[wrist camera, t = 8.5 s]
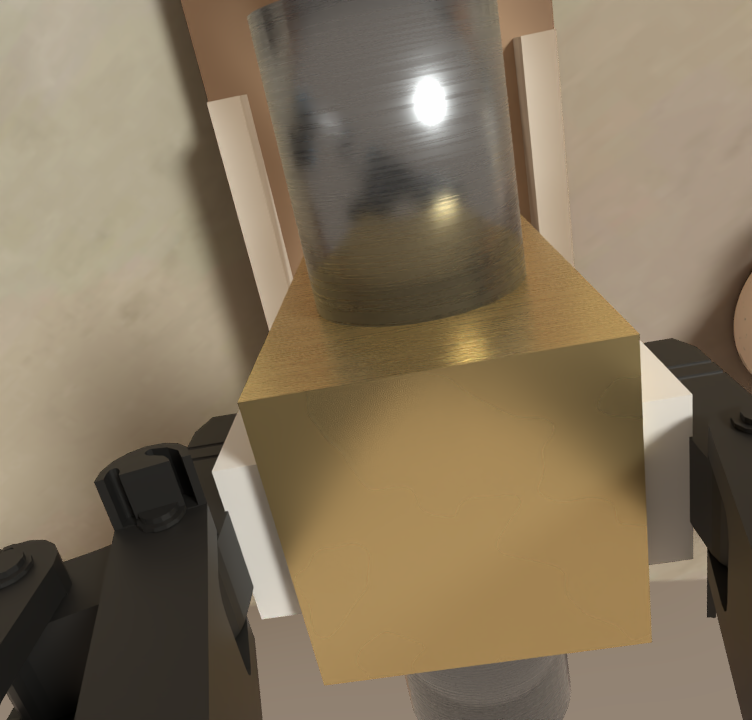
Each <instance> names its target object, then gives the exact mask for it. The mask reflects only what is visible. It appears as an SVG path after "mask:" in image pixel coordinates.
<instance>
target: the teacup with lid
mask: <svg viewBox="0 0 752 720" xmlns="http://www.w3.org/2000/svg"><path fill="white" fill-rule="evenodd" d="M734 338H735V343H736V348H737V351H738V353H739V356H740V358H741V360H742V362H743V364H744V365H745V367H746V368H747V369H748V371H749V372H750V373H751V374H752V273H751V274H750V276H749V277H748V279H747V281H746V283H745V285H744V286H743V289H742V291H741V293H740V296H739V299H738V302H737V306H736V310H735V316H734Z"/></svg>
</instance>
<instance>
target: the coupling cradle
mask: <svg viewBox="0 0 752 720" xmlns="http://www.w3.org/2000/svg"><path fill="white" fill-rule="evenodd" d="M276 1H279V0H181V4H182V7H183V11H184V15H185V18H186V22H187V26H188V29H189V33H190V37H191V40H192V44H193V48H194V51H195V55H196V59H197V62H198V66H199V70H200V73H201V77H202V81H203V84H204V88H205V92H206V95H207V99H208V102H207V106H208V109H209V113H210V117H211V120H212V124H213V128H214V131H215V135H216V139H217V142H218V146H219V150H220V153H221V157H222V160H223V164H224V168H225V171H226V175H227V179H228V182H229V186H230V190H231V193H232V197H233V201H234V204H235V208H236V211H237V215H238V219H239V222H240V226H241V230H242V233H243V237H244V241H245V244H246V248H247V252H248V255H249V259H250V263H251V266H252V270H253V273H254V277H255V281H256V284H257V288H258V292H259V295H260V299H261V303H262V306H263V310H264V314H265V317H266V321H267V324H268V328H269V331H270V329H271V327H272V325H273V322H274V320H275V318H276V316H277V313H278V311H279V309H280V307H281V304H282V302H283V300H284V298H285V296H286V293H287V291H288V289H289V287H290V284H291V282H292V280H293V278H294V275H295V273H296V271H297V269H298V266H299V264H300V262H301V260H302V258H303V255H304V254H303V250H302V245H301V241H300V237H299V233H298V229H297V225H296V220H295V216H294V212H293V208H292V204H291V199H290V195H289V191H288V187H287V183H286V179H285V174H284V170H283V166H282V162H281V158H280V154H279V149H278V145H277V141H276V137H275V133H274V129H273V124H272V120H271V116H270V112H269V108H268V104H267V99H266V95H265V91H264V87H263V83H262V79H261V74H260V70H259V66H258V62H257V58H256V54H255V49H254V45H253V41H252V37H251V33H250V29H249V24H248V20H247V16H248V15H249V14H250V13H252V12H253V11H255V10H257V9H259V8H261V7H264V6H266V5H268V4H271V3H274V2H276ZM497 4H498V13H499V22H500V32H501V41H502V50H503V60H504V69H505V78H506V88H507V97H508V106H509V116H510V125H511V134H512V144H513V153H514V162H515V172H516V181H517V191H518V200H519V209H520V214H521V215H522V216H523V217H524V218H525V219H526V220H527V221H528V222H529V223H530V224H531V225H532V226H533V227H534V228H535V229H536V230H537V231H538V232H539V233H540V234H541V235H542V236H543V237H544V238H545V239H546V240H547V241H548V242H549V243H550V244H551V245H552V246H553V247H554V248H555V249H556V250H557V251H558V252H559V253H560V254H561V255H562V256H563V257H564V258H565V259H566V260H567V261H568V262H569V263H570V264H571V265H572V266H573V267H574V257H573V244H572V231H571V218H570V205H569V192H568V179H567V166H566V153H565V140H564V127H563V114H562V101H561V88H560V75H559V62H558V49H557V36H556V29H554V21H553V8H552V0H497Z"/></svg>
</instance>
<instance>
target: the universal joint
mask: <svg viewBox="0 0 752 720" xmlns="http://www.w3.org/2000/svg"><path fill="white" fill-rule="evenodd" d="M247 20H248V24H249V29H250V33H251V37H252V41H253V45H254V49H255V54H256V58H257V62H258V66H259V70H260V74H261V79H262V83H263V87H264V91H265V95H266V99H267V104H268V108H269V112H270V116H271V120H272V124H273V129H274V133H275V137H276V141H277V145H278V149H279V154H280V158H281V162H282V166H283V170H284V174H285V179H286V183H287V187H288V191H289V195H290V199H291V204H292V208H293V212H294V216H295V220H296V225H297V229H298V233H299V237H300V241H301V245H302V250H303V254H304V255H303V258H302V260H301V262H300V264H299V266H298V269H297V271H296V273H295V275H294V278H293V280H292V282H291V284H290V287H289V289H288V291H287V293H286V296H285V298H284V300H283V302H282V304H281V307H280V309H279V311H278V313H277V316H276V318H275V320H274V322H273V325H272V327H271V329H270V331H269V334H268V336H267V338H266V340H265V342H264V345H263V347H262V349H261V351H260V354H259V356H258V358H257V360H256V363H255V365H254V367H253V369H252V372H251V374H250V376H249V378H248V380H247V383H246V385H245V387H244V389H243V392H242V394H241V396H240V398H239V401H238V406H239V409H240V412H241V415H242V419H243V422H244V425H245V429H246V432H247V435H248V438H249V442H250V445H251V448H252V451H253V455H254V458H255V461H256V464H257V468H258V471H259V474H260V477H261V481H262V484H263V487H264V490H265V494H266V497H267V500H268V503H269V507H270V510H271V513H272V516H273V520H274V523H275V526H276V529H277V533H278V536H279V539H280V543H281V546H282V549H283V552H284V556H285V559H286V562H287V565H288V569H289V572H290V575H291V578H292V582H293V585H294V588H295V591H296V595H297V598H298V601H299V604H300V608H301V611H302V614H303V617H304V621H305V624H306V627H307V630H308V634H309V637H310V640H311V643H312V646H313V650H314V653H315V656H316V660H317V663H318V666H319V669H320V673H321V676H322V679H323V683H324V685H331V684H339V683H346V682H354V681H362V680H369V679H376V678H384V677H392V676H400V675H405V679H406V683H407V687H408V692H409V696H410V700H411V704H412V707H413V711H414V713H415V715H416V717H417V719H418V720H562V719H563V718H564V715H565V713H566V711H567V708H568V704H569V700H570V690H571V689H570V678H569V668H568V658H567V653H575V652H582V651H590V650H597V649H605V648H612V647H619V646H627V645H635V644H642V643H650V642H652V638H651V612H650V586H649V561H648V536H647V510H646V485H645V460H644V435H643V409H642V384H641V359H640V334H639V333H638V332H637V331H636V330H635V329H634V328H633V327H632V326H631V325H630V324H629V323H628V322H627V321H626V320H625V319H624V318H623V317H622V316H621V315H620V314H619V313H618V312H617V311H616V310H615V309H614V308H613V307H612V306H611V305H610V304H609V303H608V302H607V301H606V300H605V299H604V298H603V297H602V296H601V295H600V294H599V293H598V292H597V291H596V290H595V289H594V288H593V287H592V286H591V285H590V284H589V283H588V282H587V281H586V280H585V279H584V278H583V277H582V275H581V274H580V273H579V272H578V271H577V270H576V269H575V268H574V267H573V266H572V265H571V264H570V263H569V262H568V261H567V260H566V259H565V258H564V257H563V256H562V255H561V254H560V253H559V252H558V251H557V250H556V249H555V248H554V247H553V246H552V245H551V244H550V243H549V242H548V241H547V240H546V239H545V238H544V237H543V236H542V235H541V234H540V233H539V232H538V231H537V230H536V229H535V228H534V227H533V226H532V225H531V224H530V223H529V222H528V221H527V220H526V219H525V218H524V217H523V216H522V215H521V214H520V209H519V200H518V191H517V181H516V172H515V162H514V153H513V144H512V134H511V125H510V116H509V106H508V97H507V88H506V78H505V69H504V60H503V50H502V41H501V32H500V22H499V13H498V4H497V0H279V1H276V2H274V3H271V4H268V5H266V6H264V7H261V8H259V9H257V10H255V11H253V12H252V13H250V14H249V15H248V16H247Z"/></svg>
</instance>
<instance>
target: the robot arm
mask: <svg viewBox="0 0 752 720" xmlns="http://www.w3.org/2000/svg"><path fill="white" fill-rule="evenodd" d="M640 359H641V384H642V409H643V435H644V460H645V485H646V510H647V536H648V561H649V565H653V564H660V563H667V562H675V561H682V560H689V559H693V527H694V529H695V530H696V532H697V533H698V535H699V536H700V537H701V539H702V540H703V542H704V543H705V545H706V546H707V617H712V618H715V617H716V613H717V617H718V621H719V625H720V629H721V633H722V637H723V641H724V645H725V649H726V653H727V657H728V661H729V665H730V669H731V673H732V678H733V681H734V685H735V690H736V694H737V698H738V702H739V705H740V710H741V714H742V718H743V720H752V395H751V394H750V393H748V392H747V391H746V390H745V389H744V388H743V387H742V386H740V385H739V384H738V383H737V382H736V381H735V380H734V379H732V378H731V377H730V376H729V375H728V374H727V373H723V370H722V369H721V368H720V367H719V366H718V365H716V364H715V363H714V362H711V359H710V358H708V357H707V356H706V355H705V354H704V353H703V352H701V351H700V350H699V349H698V348H697V347H695V346H692V345H689V344H687V343H684V342H681V341H679V340H676V339H673V338H671V339H665V340H659V341H653V342H647V343H642V342H641V341H640ZM94 483H95V485H96V488H97V490H98V492H99V495H100V497H101V500H102V502H103V504H104V507H105V509H106V511H107V514H108V516H109V518H110V521H111V523H112V526H113V528H114V530H115V532H114V536H113V541H112V544H111V545H109V546H107V547H104V548H102V549H99V550H97V551H94V552H91V553H88V554H85V555H82V556H80V557H77V558H74V559H71V560H68V561H65V562H63V561H62V559H61V556H60V554H59V552H58V550H57V548H56V546H55V544H53V543H51V542H48V541H46V540H30V541H26V542H23V543H19V544H13V545H10V546H7V547H4V548H3V550H1V549H0V704H1V701H2V700H3V698H4V696H5V695H6V693H7V695H8V697H9V699H10V700H11V702H12V704H13V705H14V708H13V710H12V712H11V713H10V715H9V717H8V718H7V720H262V710H261V699H260V689H259V678H258V669H257V659H256V648H255V638H254V635H253V633H252V630H251V627H250V624H249V621H248V618H247V612H248V608H249V604H250V600H251V596H252V592H253V595H254V598H255V601H256V604H257V607H258V610H259V613H260V615H261V618H262V619H267V618H274V617H282V616H288V615H296V614H302V611H301V608H300V604H299V601H298V598H297V595H296V591H295V588H294V585H293V582H292V578H291V575H290V572H289V569H288V565H287V562H286V559H285V556H284V552H283V549H282V546H281V543H280V539H279V536H278V533H277V529H276V526H275V523H274V520H273V516H272V513H271V510H270V507H269V503H268V500H267V497H266V494H265V490H264V487H263V484H262V481H261V477H260V474H259V471H258V468H257V464H256V461H255V458H254V455H253V451H252V448H251V445H250V442H249V438H248V435H247V432H246V429H245V425H244V422H243V419H242V415H241V412H240V409H239V410H238V412H237V413H236V414H230V415H224V416H218V417H213V418H211V419H210V420H209V421H208V422H207V423H206V424H204V425H203V426H202V427H201V428H200V429H199V430H198V431H196V432H195V434H194V436H193V438H192V440H191V442H190V443H189V445H188V447H185V446H183V445H180V444H178V443H161V444H156V445H151V446H146V447H143V448H141V449H138V450H135V451H133V452H130V453H128V454H126V455H124V456H122V457H120V458H119V459H117V460H115V461H113V462H112V463H111V464H109V465H108V466H107V467H106V468H105V469H103V470H102V471H101V472H100V474H99V475H98V477H97V478H96V480H95V482H94Z"/></svg>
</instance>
